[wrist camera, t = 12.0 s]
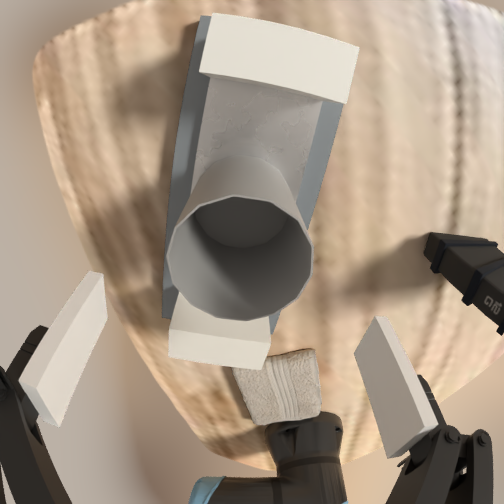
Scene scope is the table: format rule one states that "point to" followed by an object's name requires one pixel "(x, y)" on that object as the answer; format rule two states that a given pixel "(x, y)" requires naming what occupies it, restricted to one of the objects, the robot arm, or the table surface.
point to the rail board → (188, 150)
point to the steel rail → (257, 128)
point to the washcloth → (282, 388)
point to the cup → (240, 242)
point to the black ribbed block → (471, 271)
